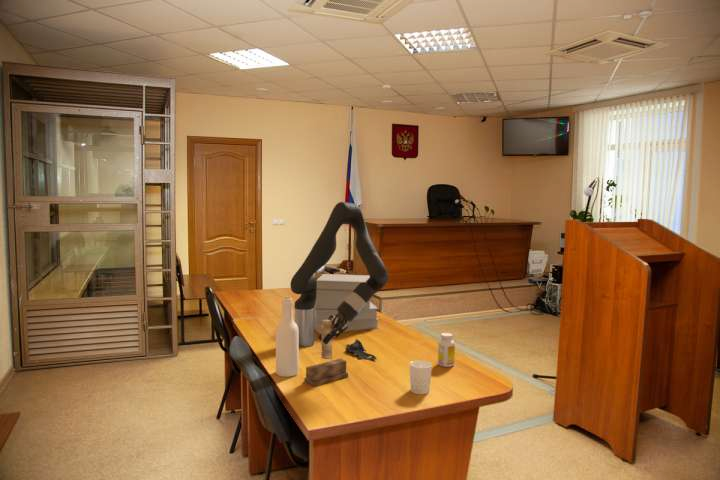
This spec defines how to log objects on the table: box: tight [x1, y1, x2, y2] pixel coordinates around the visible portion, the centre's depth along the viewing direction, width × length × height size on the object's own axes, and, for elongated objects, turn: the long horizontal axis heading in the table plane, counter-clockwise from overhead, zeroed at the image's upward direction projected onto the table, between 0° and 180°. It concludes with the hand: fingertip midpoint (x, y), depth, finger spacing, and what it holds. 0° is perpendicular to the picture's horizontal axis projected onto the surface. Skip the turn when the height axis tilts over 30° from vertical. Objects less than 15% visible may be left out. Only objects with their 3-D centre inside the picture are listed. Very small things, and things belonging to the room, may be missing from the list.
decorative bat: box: [346, 338, 378, 360], centre depth 222 cm, size 30×4×10 cm
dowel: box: [321, 320, 333, 360], centre depth 188 cm, size 4×4×14 cm
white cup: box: [409, 360, 433, 395], centre depth 179 cm, size 8×8×10 cm
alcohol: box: [275, 296, 300, 378], centre depth 193 cm, size 9×9×30 cm
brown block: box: [303, 358, 349, 388], centre depth 189 cm, size 16×6×6 cm, turn 128°
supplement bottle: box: [437, 332, 456, 368], centre depth 206 cm, size 7×7×13 cm
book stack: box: [314, 273, 380, 335], centre depth 262 cm, size 30×35×26 cm
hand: (322, 341), depth 187 cm, fingers closed on dowel, 4 cm apart
